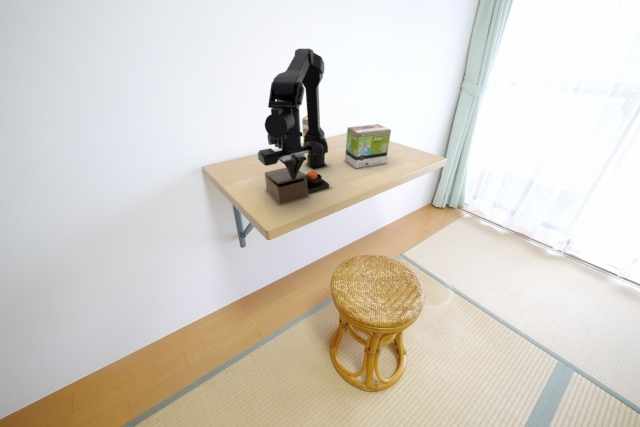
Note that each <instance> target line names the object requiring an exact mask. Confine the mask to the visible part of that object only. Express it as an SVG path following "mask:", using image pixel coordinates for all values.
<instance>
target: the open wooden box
mask: <svg viewBox="0 0 640 427" xmlns="http://www.w3.org/2000/svg"><path fill="white" fill-rule="evenodd" d="M264 179H265V187H266V191H267V192H268V193H269V194H270V196H272V197H273V199H274V200H275V201H276V202H277V203H278V204H279V205H283V204H287V203H290V202H293V201H297V200H300V199H301V200H302V199H304V198H307V197H309V193H308V189H307V180H306V179H305V178H302V179H298V180H294V181H290V182H286V183H282V184H277V183H276V182H275V181H273V180H272V179H271V178H269V177H268V176H267V175H265V174H264Z"/></svg>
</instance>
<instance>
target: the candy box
mask: <svg viewBox="0 0 640 427" xmlns="http://www.w3.org/2000/svg"><path fill="white" fill-rule="evenodd" d="M301 124H302V134H303V136H302V140H303V141H302V142H303V144H304V137H305V135H306V133H307V131H308V117H307V115H305V116H304V117H303V118H301Z"/></svg>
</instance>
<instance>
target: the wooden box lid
mask: <svg viewBox="0 0 640 427" xmlns="http://www.w3.org/2000/svg"><path fill="white" fill-rule="evenodd" d="M306 174H307V173H305V172H303V171H302V170H299V171H298V174H297V176H296V178H295V179H294V180H298V179H302V178H306V177H308V175H306ZM265 175H267V176H268V177H269V178H271V179H272V180H273V181H275V182H276V183H277V184H282V183H286V182H290V181H294V180H293V179H292V178H291V176H290V174H289V172H288V170H287V168H286V167H283V168H277V169H273V170H268V171H264V176H265Z"/></svg>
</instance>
